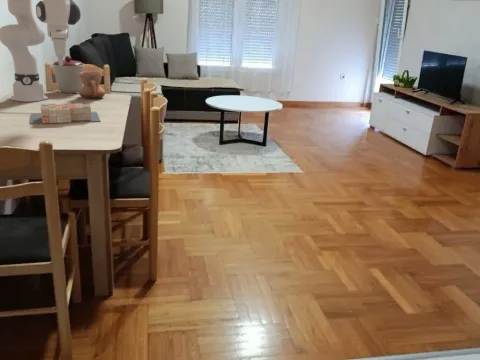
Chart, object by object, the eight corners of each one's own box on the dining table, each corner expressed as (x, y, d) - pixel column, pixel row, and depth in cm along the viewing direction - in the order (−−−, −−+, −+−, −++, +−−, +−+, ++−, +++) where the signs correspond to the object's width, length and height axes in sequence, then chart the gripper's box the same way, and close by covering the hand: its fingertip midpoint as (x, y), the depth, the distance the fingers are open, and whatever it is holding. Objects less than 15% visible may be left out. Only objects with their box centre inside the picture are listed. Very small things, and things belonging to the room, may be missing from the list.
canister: (75, 88, 289) (73, 53, 281) (92, 92, 278) (90, 57, 271) (48, 91, 275) (45, 55, 268) (65, 95, 265) (62, 58, 258)
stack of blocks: (89, 103, 219) (91, 108, 208) (90, 115, 221) (92, 121, 211) (40, 103, 211) (40, 109, 201) (42, 117, 213) (41, 123, 203)
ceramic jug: (78, 95, 269) (76, 70, 264) (104, 94, 274) (102, 70, 269) (80, 101, 254) (78, 75, 248) (107, 101, 259) (105, 75, 253)
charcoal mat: (31, 114, 220) (31, 113, 219) (96, 112, 230) (96, 111, 230) (29, 124, 202) (29, 123, 202) (100, 121, 213) (100, 120, 213)
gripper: (50, 30, 207) (53, 62, 212) (50, 34, 190) (53, 68, 194) (65, 31, 209) (67, 62, 214) (67, 34, 192) (69, 68, 197)
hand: (61, 65), depth 204 cm, fingers closed
